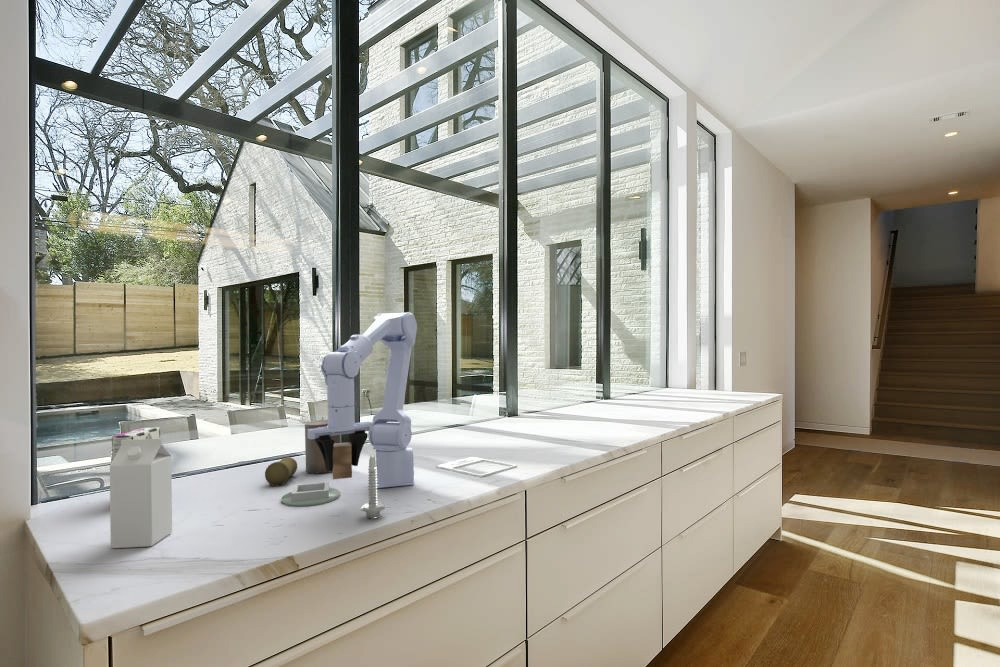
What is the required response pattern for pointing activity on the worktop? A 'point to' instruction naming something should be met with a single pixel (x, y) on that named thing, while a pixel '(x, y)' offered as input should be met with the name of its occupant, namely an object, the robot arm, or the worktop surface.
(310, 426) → the pillar candle
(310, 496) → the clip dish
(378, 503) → the screw
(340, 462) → the brown tall block
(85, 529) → the worktop surface
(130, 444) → the milk carton
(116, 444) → the candy bar box
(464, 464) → the photo frame
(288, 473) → the olive cylinder
